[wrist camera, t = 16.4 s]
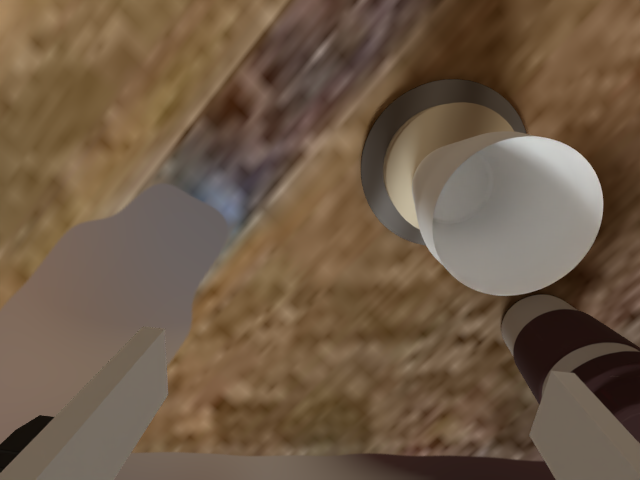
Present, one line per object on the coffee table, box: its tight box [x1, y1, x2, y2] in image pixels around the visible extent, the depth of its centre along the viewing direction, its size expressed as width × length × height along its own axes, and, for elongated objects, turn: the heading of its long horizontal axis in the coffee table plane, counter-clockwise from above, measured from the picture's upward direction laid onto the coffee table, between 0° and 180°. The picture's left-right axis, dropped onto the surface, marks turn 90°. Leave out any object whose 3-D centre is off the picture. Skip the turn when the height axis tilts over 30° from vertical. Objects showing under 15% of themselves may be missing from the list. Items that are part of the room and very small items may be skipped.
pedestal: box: [361, 79, 526, 245], centre depth 32 cm, size 15×15×4 cm
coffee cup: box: [502, 295, 640, 443], centre depth 31 cm, size 10×10×15 cm
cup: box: [412, 131, 603, 296], centre depth 25 cm, size 9×9×12 cm
